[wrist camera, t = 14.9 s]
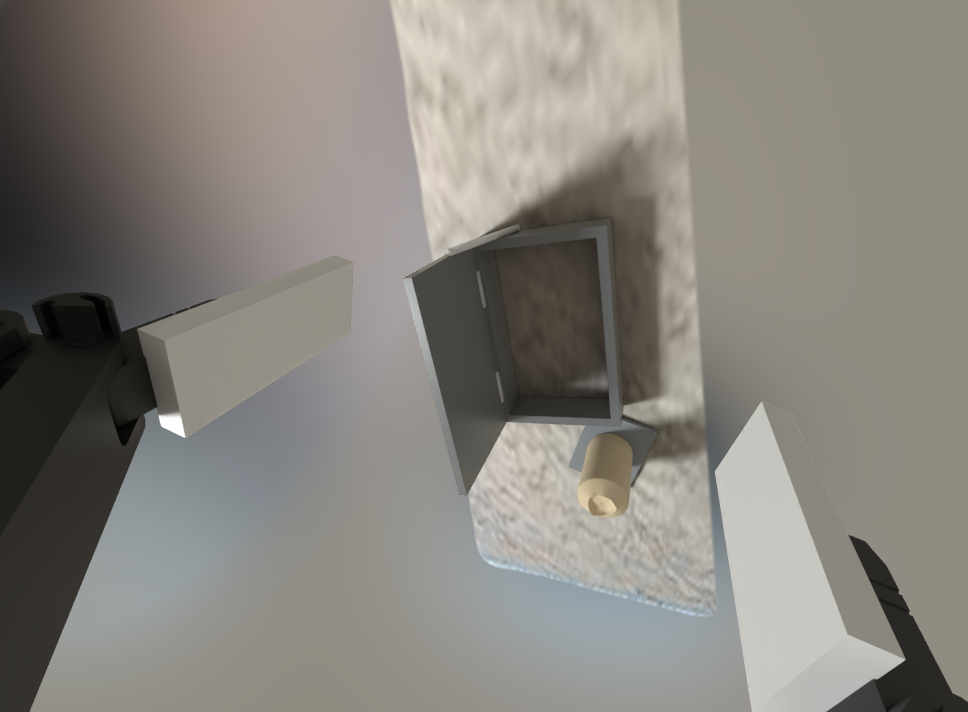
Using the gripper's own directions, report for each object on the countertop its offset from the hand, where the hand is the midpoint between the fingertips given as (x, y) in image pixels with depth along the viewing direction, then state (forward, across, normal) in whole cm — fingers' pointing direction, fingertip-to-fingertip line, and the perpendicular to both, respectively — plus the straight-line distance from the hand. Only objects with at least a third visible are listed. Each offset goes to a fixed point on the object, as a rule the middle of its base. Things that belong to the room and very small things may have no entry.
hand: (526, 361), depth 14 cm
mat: (+35, +9, -28) cm, 45 cm away
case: (+35, -2, -14) cm, 38 cm away
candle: (+34, +9, -28) cm, 45 cm away
